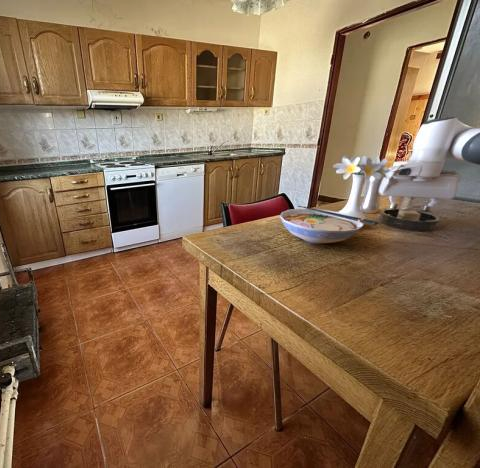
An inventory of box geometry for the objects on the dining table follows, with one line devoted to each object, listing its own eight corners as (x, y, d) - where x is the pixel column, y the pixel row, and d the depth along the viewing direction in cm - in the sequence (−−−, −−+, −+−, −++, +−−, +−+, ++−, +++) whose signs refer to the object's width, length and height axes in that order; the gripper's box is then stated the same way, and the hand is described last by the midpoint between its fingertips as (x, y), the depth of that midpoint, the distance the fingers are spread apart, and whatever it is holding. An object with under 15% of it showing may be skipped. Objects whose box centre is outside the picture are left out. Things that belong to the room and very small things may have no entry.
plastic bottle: (362, 214, 106) (375, 165, 99) (355, 210, 112) (366, 163, 105) (380, 215, 105) (394, 165, 97) (372, 211, 111) (385, 163, 104)
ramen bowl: (260, 234, 89) (262, 211, 86) (303, 223, 99) (307, 202, 96) (331, 263, 68) (337, 234, 65) (377, 245, 78) (385, 220, 75)
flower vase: (380, 239, 82) (404, 158, 73) (317, 227, 94) (330, 156, 85) (384, 228, 91) (406, 155, 82) (325, 218, 103) (339, 153, 94)
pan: (422, 220, 97) (425, 210, 96) (445, 234, 84) (450, 223, 83) (372, 217, 103) (375, 207, 102) (387, 229, 90) (390, 219, 88)
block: (410, 222, 94) (414, 210, 93) (416, 226, 91) (420, 214, 89) (395, 221, 96) (399, 209, 94) (400, 225, 92) (404, 213, 91)
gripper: (457, 169, 86) (442, 209, 91) (383, 168, 93) (372, 205, 98) (470, 172, 80) (453, 214, 85) (389, 170, 87) (378, 209, 92)
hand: (409, 209), depth 91 cm, fingers open, 8 cm apart
